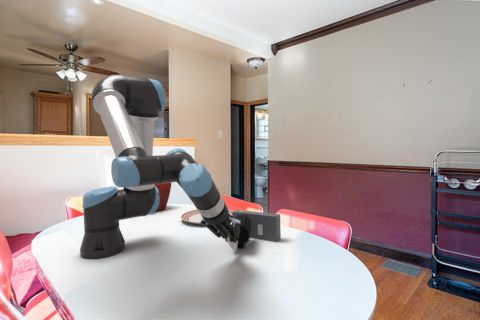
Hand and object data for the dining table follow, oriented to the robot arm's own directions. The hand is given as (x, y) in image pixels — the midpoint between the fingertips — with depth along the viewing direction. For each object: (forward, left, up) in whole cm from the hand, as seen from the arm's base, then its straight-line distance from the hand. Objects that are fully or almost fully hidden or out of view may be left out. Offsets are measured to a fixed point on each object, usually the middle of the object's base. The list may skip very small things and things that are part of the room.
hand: (234, 245), depth 94 cm
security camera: (+10, +3, -4) cm, 11 cm away
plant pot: (+38, +82, -4) cm, 91 cm away
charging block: (+21, +2, -4) cm, 22 cm away
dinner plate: (+35, +37, -4) cm, 51 cm away
